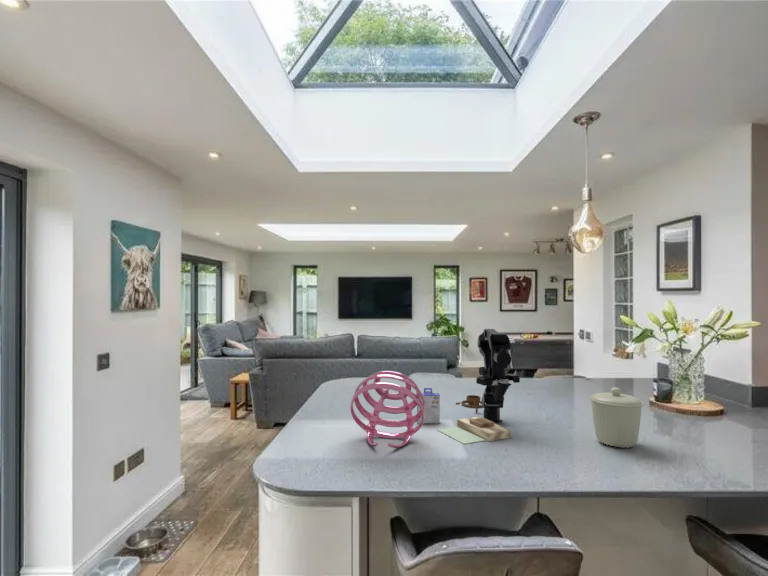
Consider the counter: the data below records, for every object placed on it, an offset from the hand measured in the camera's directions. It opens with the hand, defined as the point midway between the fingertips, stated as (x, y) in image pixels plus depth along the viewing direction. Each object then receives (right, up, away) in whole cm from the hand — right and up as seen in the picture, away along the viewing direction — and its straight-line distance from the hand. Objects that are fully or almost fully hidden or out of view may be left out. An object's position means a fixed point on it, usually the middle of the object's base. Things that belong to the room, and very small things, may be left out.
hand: (498, 400), depth 175 cm
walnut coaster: (-8, -9, -4) cm, 12 cm away
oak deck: (-7, -12, -4) cm, 14 cm away
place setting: (-4, -14, +36) cm, 39 cm away
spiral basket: (-45, -11, -17) cm, 50 cm away
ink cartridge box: (-28, -12, +9) cm, 32 cm away
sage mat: (-17, -12, -9) cm, 22 cm away
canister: (+40, -12, -17) cm, 45 cm away
